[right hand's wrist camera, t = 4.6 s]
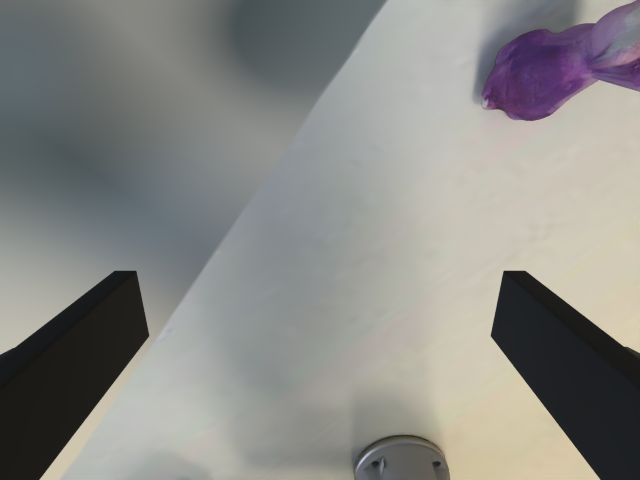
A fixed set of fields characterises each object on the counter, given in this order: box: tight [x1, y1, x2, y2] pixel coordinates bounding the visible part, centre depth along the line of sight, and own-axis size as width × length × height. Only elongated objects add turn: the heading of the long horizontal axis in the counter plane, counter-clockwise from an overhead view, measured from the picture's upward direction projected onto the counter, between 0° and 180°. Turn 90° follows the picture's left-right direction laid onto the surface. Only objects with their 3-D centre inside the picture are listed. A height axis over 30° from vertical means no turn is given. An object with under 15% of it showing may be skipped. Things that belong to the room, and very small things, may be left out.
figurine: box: [481, 0, 640, 121], centre depth 30 cm, size 9×10×15 cm
